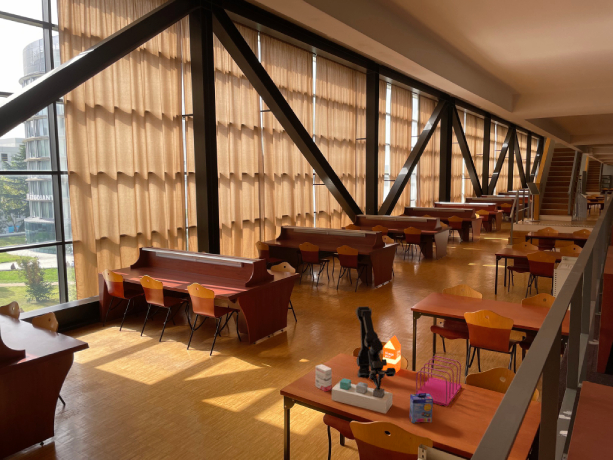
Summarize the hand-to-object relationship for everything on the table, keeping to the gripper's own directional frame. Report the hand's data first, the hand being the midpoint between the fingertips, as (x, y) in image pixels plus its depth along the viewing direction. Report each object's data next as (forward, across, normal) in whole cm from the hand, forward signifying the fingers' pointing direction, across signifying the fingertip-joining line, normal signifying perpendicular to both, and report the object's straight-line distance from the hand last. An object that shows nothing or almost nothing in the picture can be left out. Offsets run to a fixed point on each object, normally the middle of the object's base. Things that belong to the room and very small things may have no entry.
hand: (378, 389), depth 240 cm
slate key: (-1, -8, +6) cm, 10 cm away
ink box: (-9, -25, +22) cm, 35 cm away
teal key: (-4, -15, +9) cm, 18 cm away
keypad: (+3, -8, +10) cm, 13 cm away
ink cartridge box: (+17, +17, -4) cm, 24 cm away
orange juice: (-22, +17, +35) cm, 45 cm away
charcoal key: (+3, 0, +3) cm, 4 cm away
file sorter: (-2, +35, +15) cm, 38 cm away
